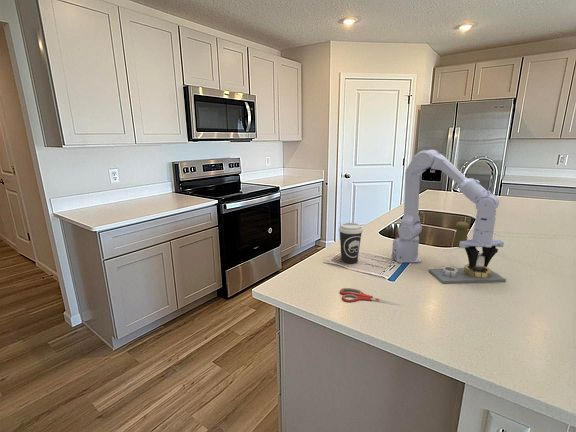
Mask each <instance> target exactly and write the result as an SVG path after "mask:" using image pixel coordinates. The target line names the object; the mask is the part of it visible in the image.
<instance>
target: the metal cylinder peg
mask: <svg viewBox="0 0 576 432" xmlns="http://www.w3.org/2000/svg"><path fill="white" fill-rule="evenodd" d="M485 258H486V255H485V254H483V253H482V252H479V253H478V255H477V258H476V263H475V267H471V270H473V271H477V272H484V265H485Z"/></svg>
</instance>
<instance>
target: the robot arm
mask: <svg viewBox="0 0 576 432" xmlns="http://www.w3.org/2000/svg"><path fill="white" fill-rule="evenodd" d="M411 159H412V160H411V161H410V162H409V164H408V165H407V167H406V169H405V173H404V175H405V178H404V200H403V201H404V206H403V217H402V219H401V221H400V225H399V228H398V229H397V230H398V232H397V234H398V236H399V237H397V238H394V239H393V241H392V246H391V247H392V249H391V254H390V255H391V257H392V258H393V259H394V260H395V261H396V262H397V263H398V264H400V263H402V264H404V263H422V260H421V259H420V258H419V257H418V254H419V245H420V237H419V235H420V234H421V233H422V231H423V226H422V223H421V217H420V215H419V205H420V204H419V202H420V201H419V200H420V183H421V181H420V179H421V175H422V174H423V173H424V172H426V171H427V169H431V170H437V171H438V170H439V171H441V172H442V173H444V174H445V175H446V176H447V177H449V179H451V180H452V181H454V182H455V183H456V184H457V185H458V190H459V192H461V193H462V194H463V195H464V196H465V198H467V199H468V200H469V201H471V203H472V204H475V209H476V210H477V211H476V215H475V218H474V219H475V220H474V225H473V233H472V239H467V240H466V241H460V243H459V246H460V247H461V248H462V249H464V251H465V252H466V255H467V259H468V264H469V265H470V266H471V267H475V263H476V258H477V255H478V253H483V254H485V255H486V258H485V265H484V267H488V266H489V264H490V262H491V260H492V259H493V258H494V256H495V255H496V254H497V253H498V252H499V249H498V248H504V243H505V241H502V240H498V239H493V236H494V230H495V225H496V224H495V223H496V218H497V217H496V215H497V210H496V209H497V208H498V207H499V205H500V199H499V198H498V197H497V195H496V194H494V193H492V192H491V190H490V189H489V190H487V189H486V188H485V187H483V185H482V184H480V183H481V181H480V180H478V179H474V178H473V177H472V178H468V177H466V175H464V174H463V173H462V172H461V171H460V170H459V169H458V168H457V167H456V166H455V165H454V164H453V163H451V161H450V160H448V159H447V158H446V156H445V155H443V154H441V153H440V152H439V151H438V150H436V149H428V150H425V149H423V150H421V151H419V152H417V153H416V154H414V156H412V158H411ZM460 247H459V248H460ZM461 248H460V249H461ZM477 248H481V249H482V250H481V251H482V252H480V250H478V249H477Z"/></svg>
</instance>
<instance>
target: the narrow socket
mask: <svg viewBox="0 0 576 432" xmlns="http://www.w3.org/2000/svg"><path fill="white" fill-rule="evenodd" d="M441 268H442V271H441V274H442V275H445V276H447V277H451V278H452V277H457V276H458V269H456V268H457V267H454V266H449V265H447V266H446V265H445V266H442V267H441Z"/></svg>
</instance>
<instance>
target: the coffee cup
mask: <svg viewBox="0 0 576 432" xmlns="http://www.w3.org/2000/svg"><path fill="white" fill-rule="evenodd" d="M363 229H364V228H363V227H362V225H361V224H360V223H357V222H343V223H341V224H340V226H339V227H338V232H339V240H340V241H339V242H340V243H339V245H340V258H341V259H340V260H341V262H343V263H344V264H349V265H351V264H352V265H353V264H356V263H358V260H359V255H360V247H361V246H360V245H361V239H362V233H363V232H364V230H363Z"/></svg>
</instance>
